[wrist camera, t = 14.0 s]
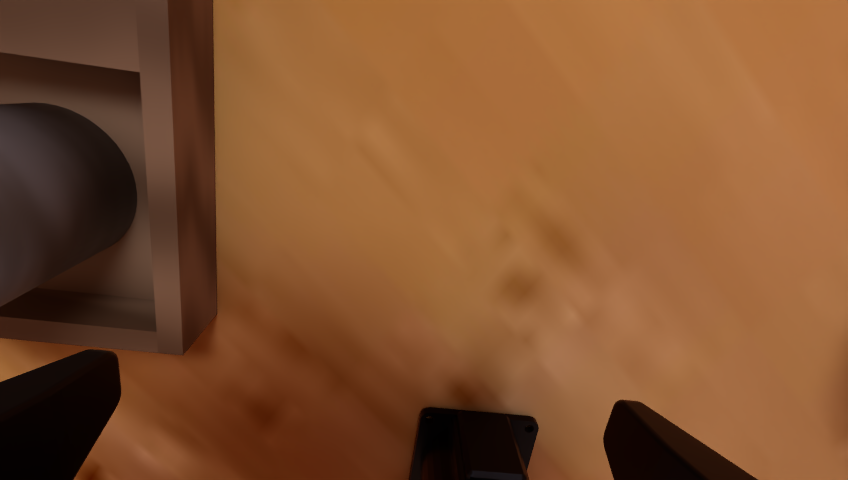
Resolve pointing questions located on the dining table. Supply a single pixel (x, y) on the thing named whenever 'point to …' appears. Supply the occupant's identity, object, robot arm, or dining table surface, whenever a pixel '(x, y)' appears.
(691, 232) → the dining table surface
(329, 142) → the dining table surface
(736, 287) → the dining table surface
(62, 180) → the cruet stand
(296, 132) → the dining table surface
